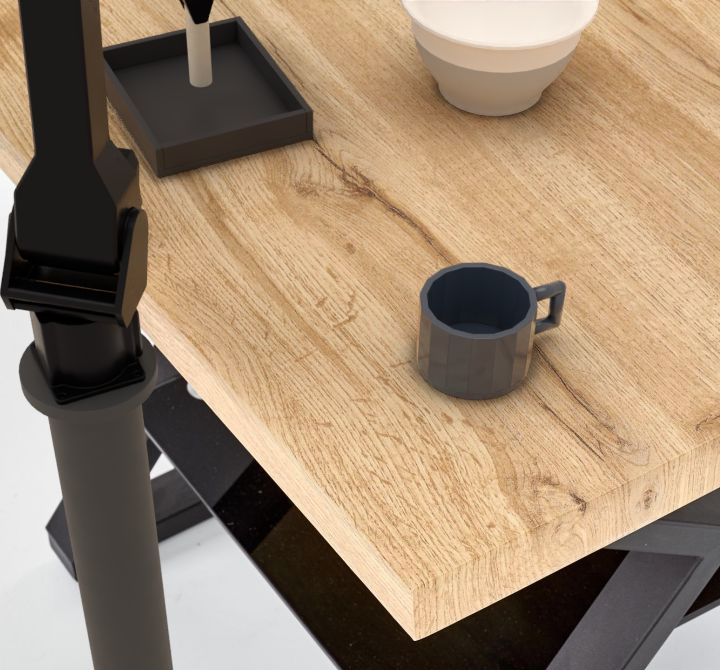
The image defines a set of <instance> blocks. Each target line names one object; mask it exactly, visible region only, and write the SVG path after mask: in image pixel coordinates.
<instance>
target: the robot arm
mask: <svg viewBox="0 0 720 670" xmlns="http://www.w3.org/2000/svg"><path fill="white" fill-rule="evenodd" d="M178 1H179V3H180V5H181V7H182V9H183V10H184V11H185V6H186V8H187V10H188V12H189V14H190V17H191V19H192V21H193V22H194V24H196V25H198V24H202V23H206V22H207V21H208V19H209V20H210V16H211V12H212V8H213V5H214V1H215V0H178ZM184 4H185V6H184ZM17 5H18V6H17V8H18V15H19V25H20V34H21V42H22V52H23V61H24V68H25V69H24V70H25V79H26V87H27V96H28V105H29V115H30V123H31V132H32V140H33V156H32V158H31V160H30V161H29V163H28V165H27V167H26V169H25V170H24V172H23V173H22V176H21V178H20V180H19V181H18V183H17V184H16V187H15V188H14V191H13V204H12V207H11V211H10V212H9V214H8V218H7V219H8V220H7V230H6V240H5V253H4V259H3V260H4V261H3V268H2V274H1V281H0V299H1V300H2V302H3V304H4V306H5V308H6V309H7V310H10V311H16V310H20V311H26V312H28V313H29V318H30V323H31V329H32V334H33V340H35V342H34V343H32V344H31V346H30V348H31V353H32V355H33V357H34V359H35V361H36V363H37V365H38V367H39V369H40V371H41V374H42V376H43V378H44V380H45V382H46V384H47V386H48V388H49V390H50V392H51V394H52V396H53V398H54V400H55V402H56V403H57V404H58V405H66V404H69V403H73V402H76V401H79V400H83V399H86V398H90V397H93V396H96V395H100V394H103V393H107V392H110V391H113V390H117V389H120V388H123V387H127V386H130V385H134V384H137V383H140V382H143V381H144V380H145V378H146V375H145V371H144V369H143V367H142V365H141V364H140V362H139V360H138V357H141V356H142V355H143V346H142V337H141V333H142V329H141V321H140V313H139V310H138V306H139V304H140V301H141V300H142V297H143V295H144V293H145V291H146V288H147V286H148V265H149V264H148V263H149V261H148V260H149V259H148V258H149V216H148V213H147V211H146V209H143V207H142V206H143V203H144V201H143V197H142V194H141V186H140V161H139V159H138V157H137V154H136V153H135V151H134V150H133V149H132V148H125V147H118V146H117V145H116V143H115V142H114V141H113V140H112V139H111V135H110V127H109V126H110V125H109V114H108V113H109V112H108V100H107V99H108V98H107V96H106V85H105V72H104V58H103V47H104V46H103V35H102V32H103V31H102V20H101V6H100V0H17ZM137 375H140V376H137ZM61 398H62V399H61Z"/></svg>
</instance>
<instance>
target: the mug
mask: <svg viewBox="0 0 720 670" xmlns="http://www.w3.org/2000/svg"><path fill="white" fill-rule="evenodd" d="M566 292H567V285H566V283H565V282H564V281H563V280H561V279H557V280H554V281H551V282H547V283H543V284H540V285H537V286H534V287H532V286H531V284H530V283H529V282H528V281H527V280H526V278H525V277H523V276H522V275H520V274H518V273H516V272H515V271H512V270H511V269H510V268H507V267H505V266H501V265H496V264H493V263H489V262H480V261H479V262H460V263H456V264H453V265H449V266H446V267H443V268H440V269H439V270H437V271H436V272H434V274H432V275H431V276H430V277H428V278H427V279H425V282H424V284H423V286H422V288H421V290H420V292H419V294H418V295H419V296H418V309H417V311H418V313H417V328H416V345H415V350H416V351H415V352H416V365H417V368H418V371H419V373H420V374H421V377H422V378H423V379H424V380H425V381H426V382H427V383H428V384H429V385H430V386H431V387H433V388H434V389H435V390H437V391H439V392H441V393H443V394H445V395H448V396H451V397H455V398H458V399H463V400H472V401H473V400H476V401H478V400H489V399H494V398H498V397H502V396H503V395H506V394H508V393H510V392H512V391H513V390H515V389H516V388H518V386H520V385H521V384H522V382H523V381H524V380H525V378H526V377H527V375H528V372H529V369H530V364H531V361H532V353H533V347H534V339H535V335H539V334H543V333H545V332H548V331H552V330H554V329H557V328H559V327H560V326H561V324H562V318H563V312H564V306H565V298H566ZM548 299H549V300H548ZM544 300H545V301H546V300H548V301H549V302H548V308H547V315H545V316H541V317H539V318H537V317H538V316H537V315H538V310H539V309H538V308H539V305H538V304H539V303H538V302H542V301H544Z"/></svg>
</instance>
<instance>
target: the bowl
mask: <svg viewBox="0 0 720 670" xmlns="http://www.w3.org/2000/svg"><path fill="white" fill-rule="evenodd" d="M399 2H400V4H401V7H402V9H403V11H404V12H405V13H406V15H407V16H408V17H409V18H410V27H411V31H412V35H413V40H414V43H415V47H416V49H417V52H418V54H419V56H420V58H421V60H422V62H423V63H424V66H425V68H426V69H427V70H428V71H429V73H430V74H431V76H432V77H433V78H434V80H435V81H436V82H437V83H438V90H439V92H440V94H441V96H442V97H443V98H444V99H445V100H446V101H447V102H448V103H449V104H451V105H452V106H454V107H456V108H457V109H459V110H462V111H464V112H467V113H471V114H474V115H480V116H486V117H501V116H509V115H514V114H518V113H521V112H524V111H526V110H528V109H530V108H531V107H533V106H534V105H536V103H538V102H539V100H540V99H541V97H542V94H543V91H545V89H546V88H548V87H549V86H550V85H551V84H552V83H553V82H554V81H555V80H556V79H557V78H558V77H559V76H560V74H562V72H563V70H564V69H565V68H566V67H567V66H568V64H569V63H570V60H572V57H573V56H574V53H575V51H576V48H577V45H578V44H579V42H580V39H581V36H582V32H583V31H584V30H585V29H586V28H587V27H589V25H590V24H592V23H593V21H594V19H595V17H596V16H597V14H598V12H599V7H600V0H399Z"/></svg>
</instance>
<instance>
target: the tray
mask: <svg viewBox="0 0 720 670" xmlns="http://www.w3.org/2000/svg"><path fill="white" fill-rule="evenodd" d="M209 33H210V50H211V67H212V83H211V84H210V85H209V86H206V87H195V86H193V85H192V84H191V83H190V76H189V62H188V48H187V34H186V27H185V28H181V29H177V30H173V31H169V32H164V33H159V34H154V35H150V36H145V37H141V38H138V39H134V40H129V41H124V42H120V43H116V44H111V45H106V46H103V58H104V72H105V85H106V98H107V99H108V101H109V102H110V104H111V106H112V107H113V108H114V110H115V112H116V113H117V116H118V117H119V118H120V120H121V121H122V123H123V125H124V126H125V128H126V129H127V131H128V132H129V134H130V135H131V137H132V139H133V141H134V143H136V145H137V147H138V149H139V151H141V153H142V154H143V156H144V158H145V160H146V161H147V163H148V164H149V165H150V167H151V170H152V171H153V172H154V174H155V175H156V177H157V178H158V179H159V178H163V177H168V176H171V175H175V174H179V173H183V172H187V171H191V170H194V169H198V168H202V167H206V166H209V165H210V166H211V165H213V164H218V163H221V162H225V161H229V160H233V159H238V158H241V157H245V156H249V155H253V154H257V153H261V152H265V151H269V150H272V149H276V148H280V147H284V146H288V145H292V144H297V143H300V142H304V141H307V140H311V139H314V109H312V107H311V106H310V105H309V103H308V101H306V99H305V98H304V97H303V95H302V94H301V93H300V91H299V90H298V89H297V88H296V86H295V85H294V83H293V82H292V81H291V80H290V78H289V77H288V76H287V75H286V73H285V72H284V71H283V70H282V68H281V67H280V65H279V64H278V63H277V62H276V60H275V59H274V58H273V56H272V55H271V54H270V53H269V51H268V50H267V49H266V47H265V46H264V45H263V44H262V43H261V41H260V40H259V38H258V37H257V36H256V34H255V33H254V32H253V30H252V29H251V28H250V27H249V25H248V24H247V22H246V21H245V20H244V19H243V18H242V16H241V15H238V16H234V17H230V18H225V19H220V20H217V21H216V20H215V21H212V22H209Z"/></svg>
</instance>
